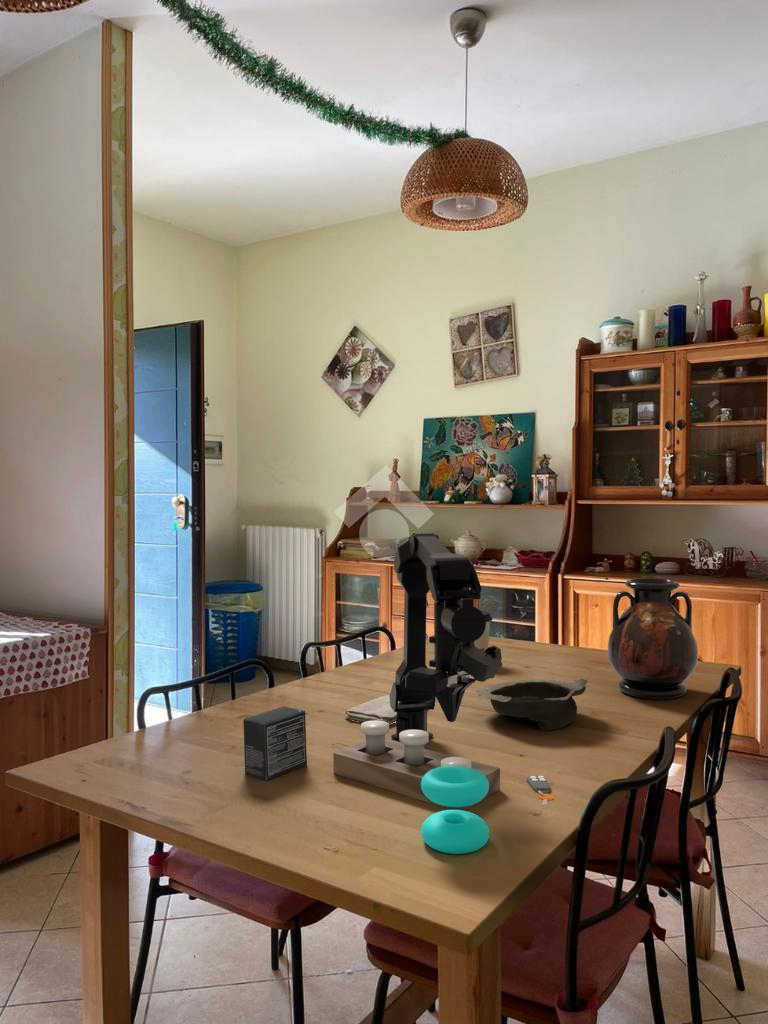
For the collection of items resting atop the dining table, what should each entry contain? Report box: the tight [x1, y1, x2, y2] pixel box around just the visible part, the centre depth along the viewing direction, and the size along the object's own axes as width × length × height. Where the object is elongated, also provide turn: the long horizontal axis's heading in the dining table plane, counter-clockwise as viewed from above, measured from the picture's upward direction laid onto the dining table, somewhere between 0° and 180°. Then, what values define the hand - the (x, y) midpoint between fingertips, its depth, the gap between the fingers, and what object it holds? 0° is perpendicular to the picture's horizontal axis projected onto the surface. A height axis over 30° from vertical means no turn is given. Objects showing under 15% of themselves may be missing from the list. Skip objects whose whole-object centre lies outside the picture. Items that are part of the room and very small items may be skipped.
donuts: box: [420, 766, 490, 855], centre depth 117 cm, size 10×10×10 cm
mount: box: [332, 738, 501, 811], centre depth 141 cm, size 12×28×4 cm, turn 51°
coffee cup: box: [474, 610, 493, 651], centre depth 231 cm, size 9×9×15 cm
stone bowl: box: [476, 678, 588, 732], centre depth 177 cm, size 25×25×9 cm
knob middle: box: [398, 730, 430, 767], centre depth 140 cm, size 5×5×5 cm
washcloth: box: [344, 694, 399, 724], centre depth 182 cm, size 12×18×3 cm, turn 147°
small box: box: [242, 705, 308, 782], centre depth 147 cm, size 11×6×10 cm, turn 141°
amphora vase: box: [607, 577, 699, 700], centre depth 198 cm, size 22×22×28 cm
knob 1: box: [360, 720, 390, 756], centre depth 146 cm, size 5×5×5 cm
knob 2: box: [441, 756, 472, 768], centre depth 135 cm, size 5×5×5 cm
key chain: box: [526, 775, 555, 805], centre depth 134 cm, size 13×4×2 cm, turn 3°
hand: (451, 721), depth 135 cm, fingers closed
